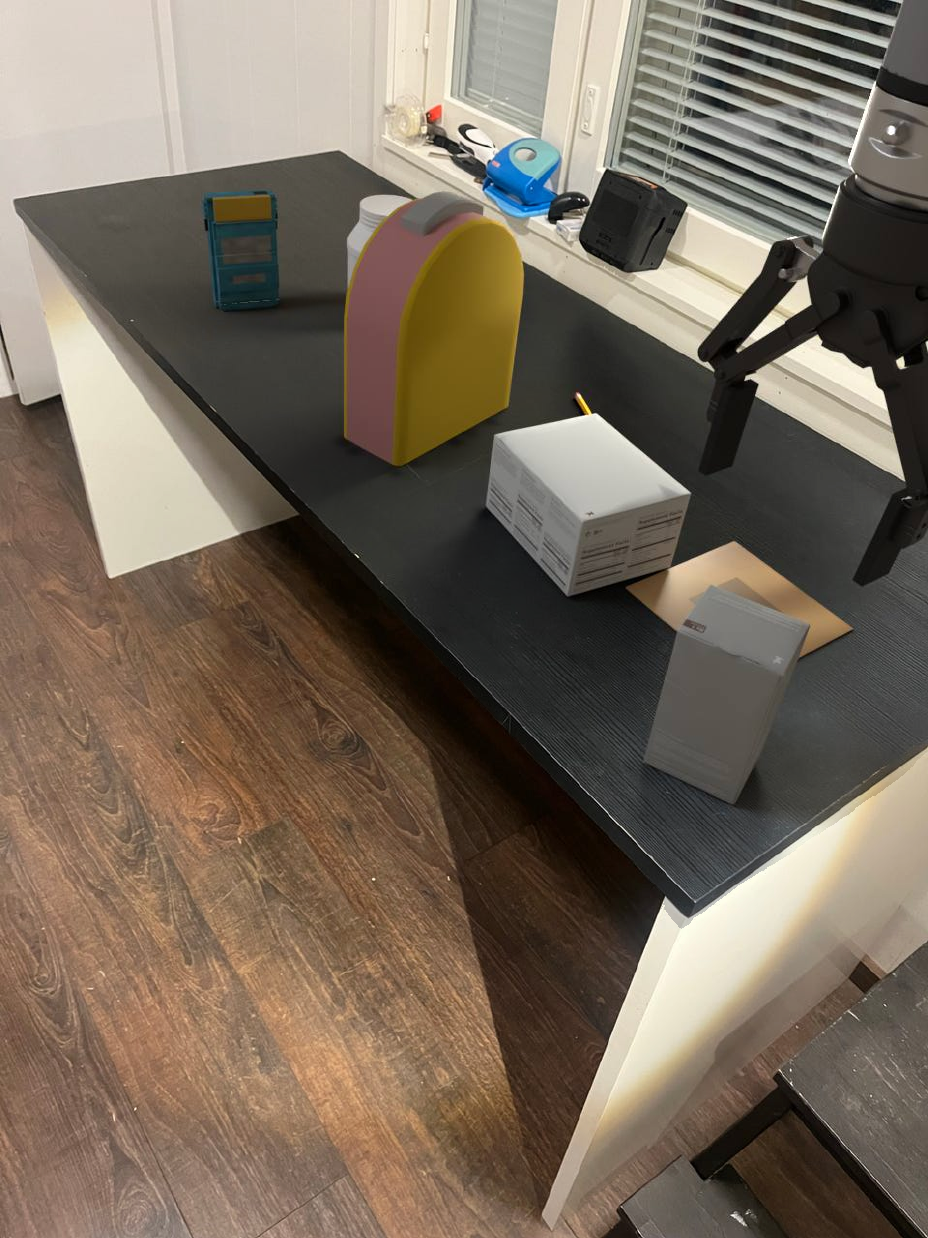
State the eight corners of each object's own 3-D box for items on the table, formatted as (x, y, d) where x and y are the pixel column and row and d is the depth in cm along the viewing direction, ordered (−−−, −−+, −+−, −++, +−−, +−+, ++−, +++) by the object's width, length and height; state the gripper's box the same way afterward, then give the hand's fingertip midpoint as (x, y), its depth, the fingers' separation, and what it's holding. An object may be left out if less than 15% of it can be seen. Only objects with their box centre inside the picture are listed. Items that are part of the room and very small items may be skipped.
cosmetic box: (758, 759, 80) (822, 620, 69) (728, 815, 75) (792, 676, 65) (666, 714, 83) (714, 574, 72) (632, 765, 78) (678, 624, 68)
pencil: (579, 397, 124) (580, 392, 123) (613, 453, 114) (614, 448, 114) (573, 397, 123) (574, 392, 123) (607, 453, 114) (608, 448, 113)
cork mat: (853, 629, 94) (853, 628, 94) (742, 688, 86) (742, 687, 86) (734, 541, 103) (734, 540, 103) (625, 587, 95) (625, 587, 95)
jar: (374, 334, 132) (377, 224, 122) (334, 308, 137) (334, 200, 127) (438, 315, 138) (446, 209, 128) (397, 291, 143) (402, 187, 133)
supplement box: (673, 568, 98) (695, 492, 92) (566, 600, 93) (582, 522, 87) (583, 481, 109) (598, 409, 103) (483, 506, 104) (492, 431, 97)
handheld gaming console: (277, 295, 138) (273, 188, 128) (285, 308, 135) (281, 199, 125) (210, 301, 135) (199, 191, 125) (216, 314, 132) (206, 203, 122)
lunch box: (456, 378, 124) (474, 165, 107) (510, 405, 120) (539, 188, 103) (341, 436, 112) (340, 205, 94) (398, 467, 108) (408, 232, 90)
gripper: (696, 124, 55) (622, 442, 69) (1110, 294, 40) (910, 652, 54) (782, 114, 58) (696, 419, 72) (1193, 267, 44) (984, 610, 58)
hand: (787, 519), depth 63 cm, fingers open, 13 cm apart
